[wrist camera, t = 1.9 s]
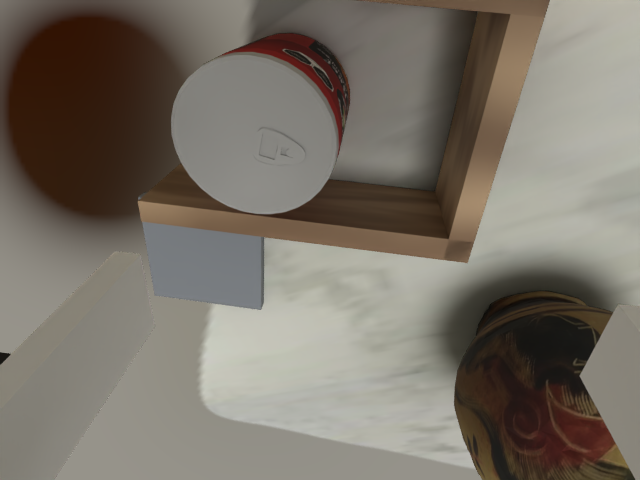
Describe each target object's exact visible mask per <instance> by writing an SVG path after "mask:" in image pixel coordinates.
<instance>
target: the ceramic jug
mask: <svg viewBox="0 0 640 480" xmlns="http://www.w3.org/2000/svg"><path fill="white" fill-rule="evenodd" d="M612 314H613V312H611V311H607V310H604V309H600V308H595V307H590V306H587V305H586V304H585V303H584V302H583V301H581V300H580V299H578V298H574V297H571V296H566V295H562V294H558V293H554V292H549V291H536V292H530V293H523V294H517V295H513V296H510V297H506V298H501V299H499V300H497V301H495V302H493V303H492V304H490V306H489V308H488V310H487V311H486V312H485V314H484V316H483V318H482V320H481V321H480V323H479V324H478V328H477V332H476V337H475V339H474V340H473V341H472V343H471V344H470V346H469V348H468V349H467V351H466V353H465V355H464V357H463V359H462V361H461V364H460V366H459V369H458V371H457V377H456V383H455V396H454V406H455V411H456V415H457V419H458V422H459V426H460V429H461V432H462V436H463V439H464V442H465V444H466V446H467V449H468V451H469V452H470V455H471V457H472V460H473V463H474V466H475V468H476V470H477V472H478V474H479V475H480V476H481V478H482V480H635V478H634V476H633V474H632V472H631V470H630V469H629V467H628V465H627V463H626V461H625V459H624V457H623V456H622V454H621V452H620V450H619V448H618V446H617V445H616V443H615V441H614V439H613V437H612V435H611V433H610V432H609V430H608V428H607V426H606V424H605V422H604V420H603V419H602V417H601V415H600V413H599V411H598V409H597V407H596V406H595V404H594V402H593V400H592V398H591V396H590V394H589V393H588V391H587V389H586V387H585V385H584V383H583V382H582V380H581V378H580V374H581V372H582V371H583V369H584V367H585V365H586V363H587V361H588V359H589V357H590V356H591V354H592V352H593V350H594V348H595V346H596V344H597V342H598V341H599V339H600V337H601V335H602V333H603V331H604V329H605V327H606V326H607V324H608V322H609V320H610V318H611V316H612Z"/></svg>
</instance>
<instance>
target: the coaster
mask: <svg viewBox="0 0 640 480" xmlns="http://www.w3.org/2000/svg"><path fill="white" fill-rule="evenodd" d="M146 193H147V192H144V193H143V194H141V195H140V196H139V198H138V199H141V198H142V197H143V196H144V195H145V194H146ZM142 223H143V229H144V235H145V240H146V246H147V252H148V258H149V264H150V270H151V276H152V282H153V288H154V294H155V295H156V296H164V297H171V298H179V299H186V300H193V301H200V302H207V303H214V304H222V305H229V306H236V307H243V308H251V309H258V310H261V309H262V306H263V303H264V237H259V236H251V235H243V234H235V233H227V232H220V231H212V230H204V229H196V228H188V227H180V226H172V225H164V224H156V223H149V222H142Z"/></svg>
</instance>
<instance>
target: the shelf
mask: <svg viewBox="0 0 640 480" xmlns="http://www.w3.org/2000/svg"><path fill="white" fill-rule="evenodd" d="M358 1H369V2H380V3H391V4H402V5H414V6H425V7H436V8H447V9H458V10H470V11H478V15H477V19H476V23H475V27H474V31H473V35H472V40H471V44H470V48H469V52H468V56H467V61H466V65H465V69H464V73H463V77H462V81H461V86H460V90H459V94H458V98H457V102H456V107H455V111H454V115H453V119H452V123H451V127H450V132H449V136H448V140H447V144H446V148H445V153H444V157H443V161H442V165H441V169H440V174H439V178H438V182H437V186H436V190H435V192H433V191H425V190H416V189H408V188H399V187H390V186H382V185H373V184H365V183H356V182H348V181H339V180H330V179H328V180H327V182H326V183H325V185H324V186H323V188H322V189H321V191H319V192H318V193H317V194H316V195H315V196H314V197H313V198H312V199H311V200H310V201H308V202H306V203H305V204H303V205H301V206H300V207H298V208H295V209H292V210H289V211H286V212H282V213H275V214H254V213H249V212H244V211H240V210H237V209H234V208H232V207H229V206H227V205H225V204H223V203H221V202H219V201H218V200H216V199H214V198H213V197H211V196H210V195H209V194H208V193H206V192H205V191H204V190H202V189H201V188H200V187H199V186H198V185H197V184H196V182H195V181H194V180H193V179H192V178H191V177H190V176H189V174H188V173H187V171H186V170H185V168H184V167H183V165H182V163H181V164H180V165H178V166H177V167H176V168H175V169H174V170H173V171H172V172H170V173H169V174H168V175H167V176H166V177H165V178H163V179H162V180H161V181H160V182H159V183H158V184H157V185H155V186H154V187H153V188H152V189H151V190H150V191H149V192H147V193H146V194H145V195H144V196H143V197H142V198H141V199H139V200H138V205H139V210H140V217H141V221H142V222H149V223H156V224H164V225H172V226H180V227H188V228H196V229H204V230H212V231H220V232H227V233H235V234H243V235H251V236H259V237H267V238H275V239H283V240H291V241H298V242H306V243H314V244H322V245H330V246H338V247H346V248H354V249H362V250H369V251H377V252H385V253H393V254H401V255H409V256H417V257H425V258H433V259H440V260H448V261H456V262H464V263H468V260H469V257H470V253H471V250H472V247H473V244H474V241H475V237H476V234H477V231H478V228H479V225H480V221H481V218H482V215H483V212H484V209H485V206H486V202H487V199H488V196H489V193H490V190H491V186H492V183H493V180H494V177H495V174H496V170H497V167H498V164H499V161H500V158H501V154H502V151H503V148H504V145H505V142H506V139H507V135H508V132H509V129H510V126H511V123H512V119H513V116H514V113H515V110H516V107H517V103H518V100H519V97H520V94H521V91H522V88H523V84H524V81H525V78H526V75H527V72H528V68H529V65H530V62H531V59H532V56H533V52H534V49H535V46H536V43H537V40H538V37H539V33H540V30H541V27H542V24H543V21H544V17H545V14H546V11H547V8H548V5H549V1H550V0H358Z"/></svg>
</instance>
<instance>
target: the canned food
mask: <svg viewBox="0 0 640 480" xmlns="http://www.w3.org/2000/svg"><path fill="white" fill-rule="evenodd" d="M349 104H350V89H349V84H348V80H347V77H346V74H345V72H344V70H343V67H342V66H341V64H340V63H339V61H338V60H337V58H336V57H335V56H334V55H333V54H332V53H331V52H330V51H329V50H328V49H327V48H326V47H325V46H323V45H322V44H320V43H319V42H317V41H316V40H313V39H311V38H308V37H306V36H303V35H298V34H293V33H283V34H276V35H272V36H268V37H265V38H262V39H260V40H257V41H255V42H252V43H250V44H247V45H244V46H242V47H240V48H237V49H234V50H232V51H229V52H227V53H225V54H222V55H221V56H218V57H216V58H214V59H212V60H211V61H208V62H207V63H205V64H203V65H202V66H201V67H200V68H198V69H197V70H196V71H195V72H194V73H193V74H192V75H191V76H189V77H188V79H187V80H186V81H185V83H184V84H183V86H182V87H181V88H180V90H179V92H178V95H177V97H176V99H175V102H174V104H173V111H172V117H171V129H172V137H173V142H174V146H175V150H176V152H177V154H178V157H179V159H180V161H181V163H182V165H183V167H184V168H185V170H186V171H187V173H188V174H189V176H190V177H191V178H192V179H193V180H194V181H195V182H196V184H197V185H198V186H199V187H200V188H201V189H202V190H204V191H205V192H206V193H208V194H209V195H210V196H211V197H213V198H214V199H216V200H218V201H219V202H221V203H223V204H225V205H227V206H229V207H232V208H234V209H237V210H240V211H244V212H249V213H254V214H275V213H282V212H286V211H289V210H292V209H295V208H298V207H300V206H301V205H303V204H305V203H306V202H308V201H310V200H311V199H312V198H313V197H314V196H315V195H316V194H317V193H318V192H319V191H321V189H322V188H323V186H324V185H325V183H326V182H327V180H328V179H329V177H330V176H331V174H332V171H333V169H334V166H335V164H336V161H337V157H338V155H339V150H340V146H341V141H342V137H343V133H344V128H345V124H346V119H347V115H348V110H349Z"/></svg>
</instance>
